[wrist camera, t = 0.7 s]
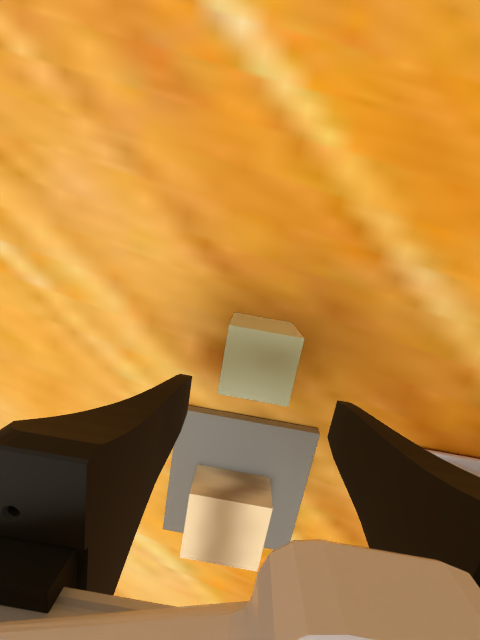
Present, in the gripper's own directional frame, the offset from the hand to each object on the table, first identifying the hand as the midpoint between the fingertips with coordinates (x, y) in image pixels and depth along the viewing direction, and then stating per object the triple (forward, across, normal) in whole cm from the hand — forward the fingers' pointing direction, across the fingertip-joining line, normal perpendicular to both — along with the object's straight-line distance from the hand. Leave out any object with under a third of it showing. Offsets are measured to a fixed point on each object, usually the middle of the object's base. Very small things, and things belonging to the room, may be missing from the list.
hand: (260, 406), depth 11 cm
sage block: (+10, 0, 0) cm, 10 cm away
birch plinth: (+9, 0, +16) cm, 18 cm away
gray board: (+9, 0, +14) cm, 17 cm away
